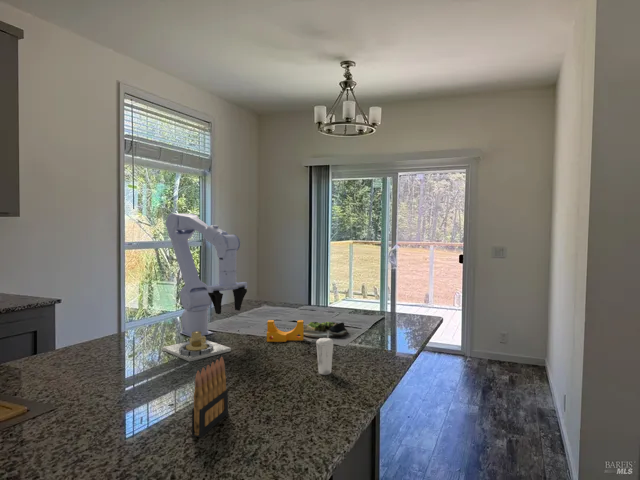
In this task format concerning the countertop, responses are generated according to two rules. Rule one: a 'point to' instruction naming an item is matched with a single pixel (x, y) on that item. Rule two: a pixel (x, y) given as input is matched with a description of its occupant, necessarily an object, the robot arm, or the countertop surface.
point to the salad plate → (324, 329)
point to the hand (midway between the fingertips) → (228, 311)
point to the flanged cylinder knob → (196, 342)
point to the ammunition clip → (209, 398)
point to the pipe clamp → (284, 336)
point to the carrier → (188, 355)
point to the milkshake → (324, 355)
